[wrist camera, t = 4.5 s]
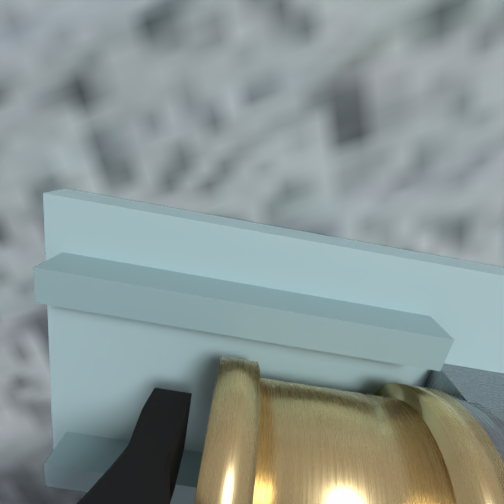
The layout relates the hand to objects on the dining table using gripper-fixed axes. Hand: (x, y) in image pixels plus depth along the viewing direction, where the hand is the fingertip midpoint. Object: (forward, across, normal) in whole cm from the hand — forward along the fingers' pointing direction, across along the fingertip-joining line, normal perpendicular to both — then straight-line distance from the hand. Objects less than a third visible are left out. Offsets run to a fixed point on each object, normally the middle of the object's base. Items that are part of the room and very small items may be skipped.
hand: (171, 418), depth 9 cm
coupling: (+1, -4, 0) cm, 4 cm away
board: (+2, -3, 0) cm, 4 cm away
